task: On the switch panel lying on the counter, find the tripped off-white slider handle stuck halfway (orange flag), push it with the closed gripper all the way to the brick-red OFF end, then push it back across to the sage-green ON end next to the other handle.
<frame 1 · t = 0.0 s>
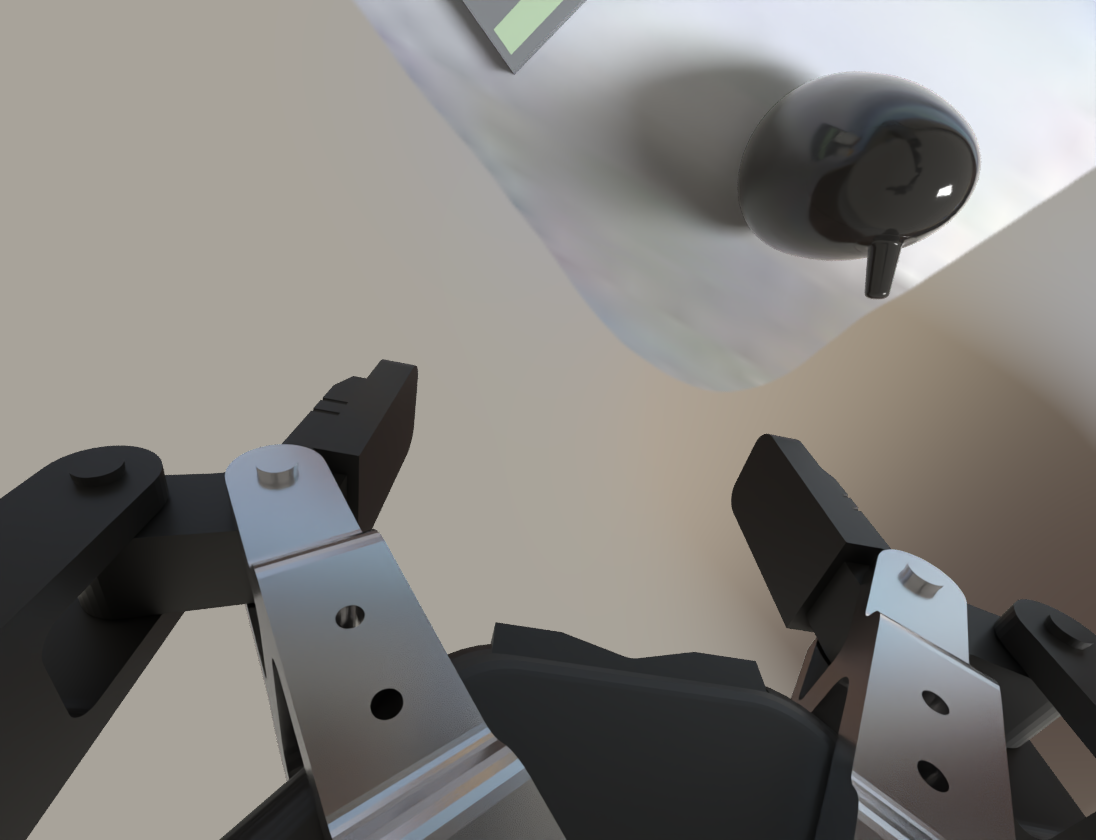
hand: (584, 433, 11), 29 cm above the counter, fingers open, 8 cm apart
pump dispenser: (794, 168, 35), on the counter
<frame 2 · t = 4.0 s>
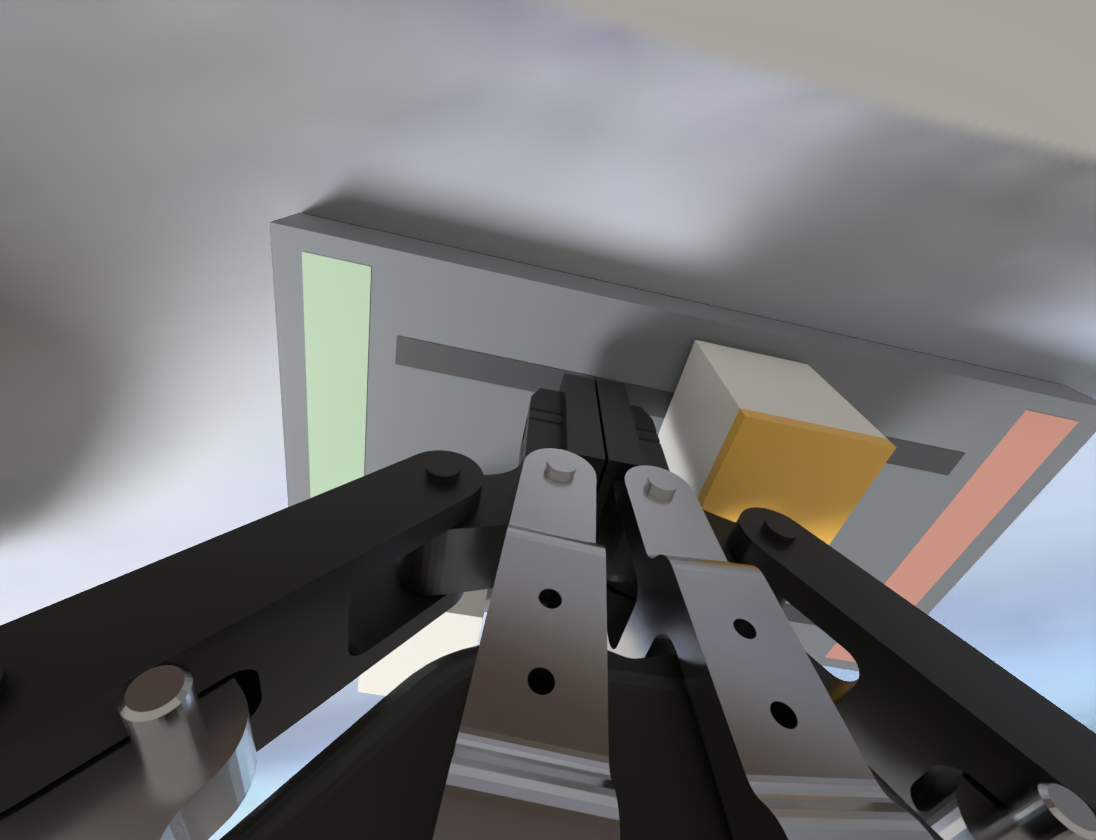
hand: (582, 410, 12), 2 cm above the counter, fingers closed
on breaker: (431, 603, 15), point 3 cm above the counter, slide at 12.0 cm
tripped breaker: (744, 459, 12), point 4 cm above the counter, slide at 5.2 cm, touching gripper
switch panel: (643, 477, 16), on the counter
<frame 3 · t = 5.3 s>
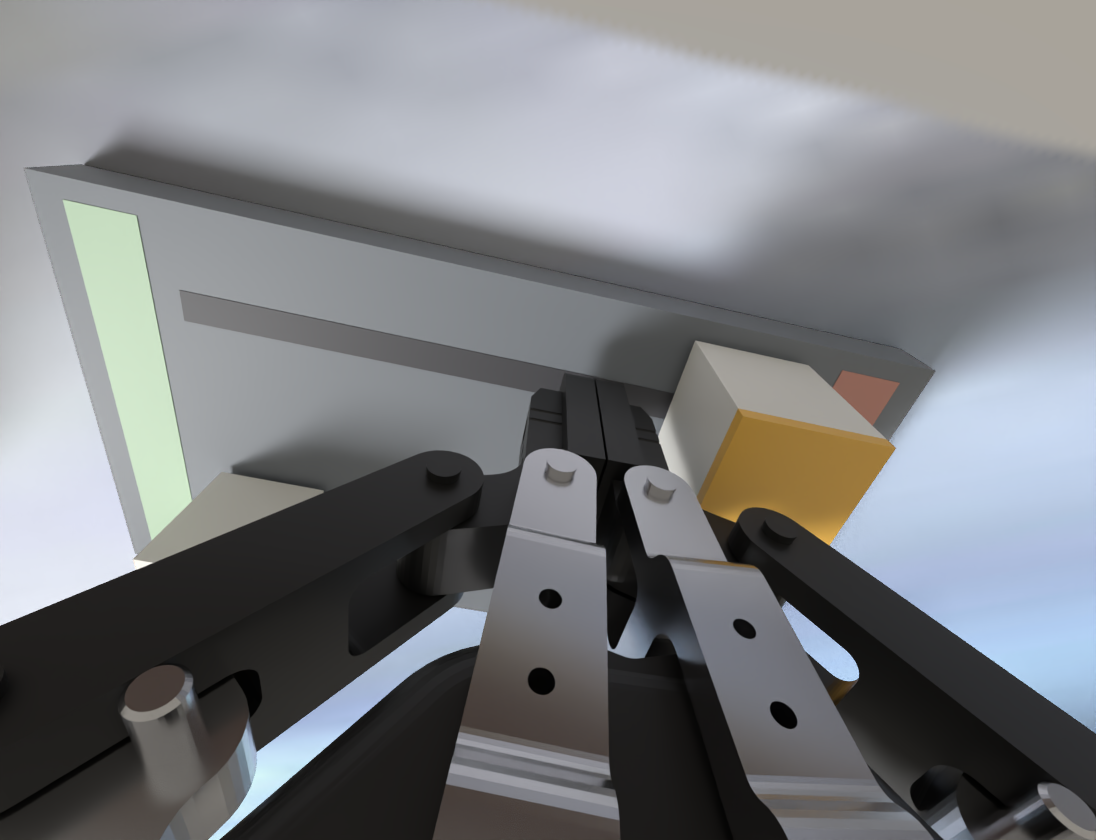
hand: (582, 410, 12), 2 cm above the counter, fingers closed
on breaker: (246, 571, 14), point 3 cm above the counter, slide at 12.0 cm
tripped breaker: (743, 460, 12), point 4 cm above the counter, slide at -0.2 cm, touching gripper
switch panel: (485, 447, 16), on the counter
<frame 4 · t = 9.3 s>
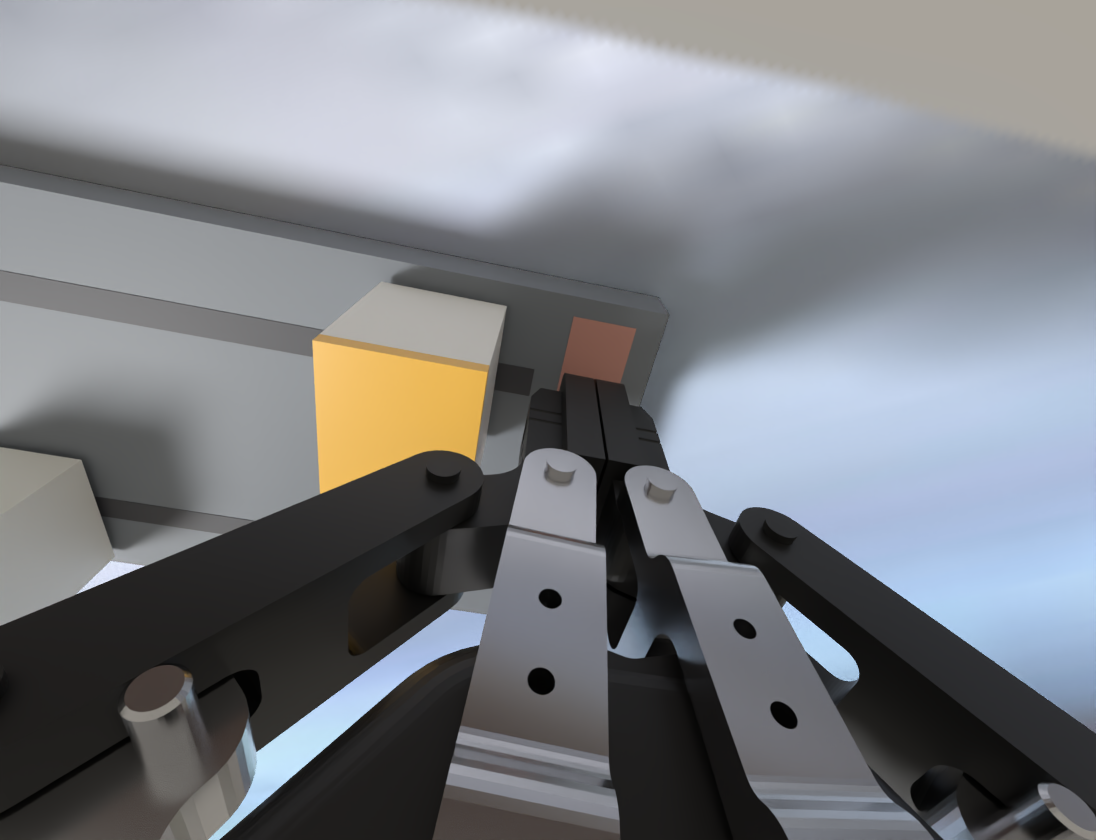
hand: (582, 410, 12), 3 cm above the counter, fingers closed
tripped breaker: (420, 404, 11), point 4 cm above the counter, slide at 0.5 cm, touching gripper
switch panel: (264, 414, 16), on the counter
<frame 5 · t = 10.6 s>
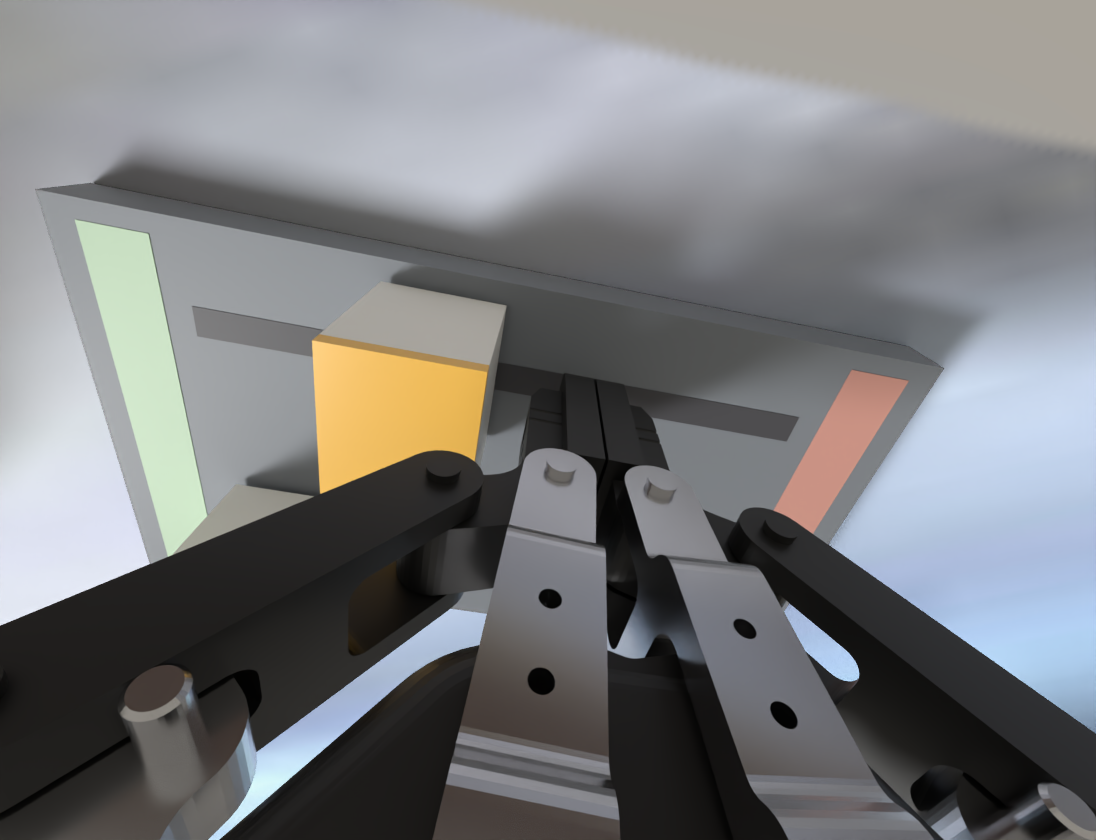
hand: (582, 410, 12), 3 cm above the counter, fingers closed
on breaker: (264, 582, 14), point 3 cm above the counter, slide at 12.0 cm
tripped breaker: (420, 403, 11), point 4 cm above the counter, slide at 7.9 cm, touching gripper
switch panel: (496, 453, 16), on the counter
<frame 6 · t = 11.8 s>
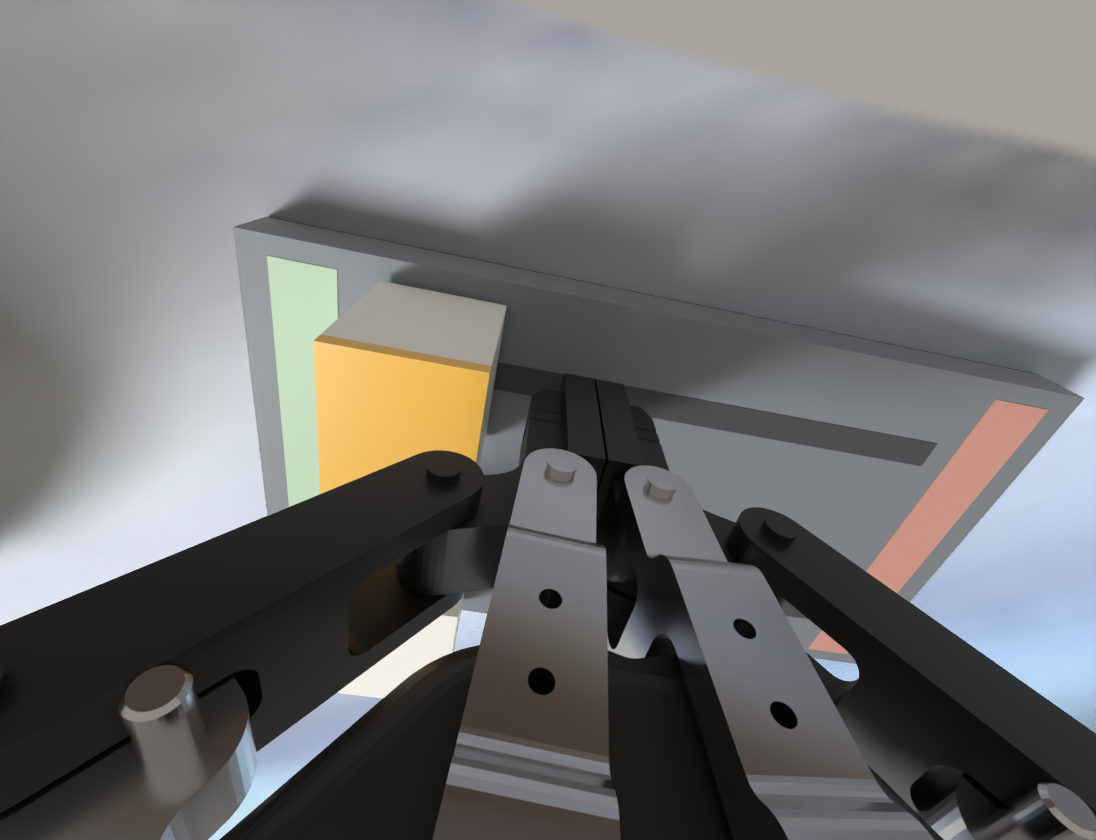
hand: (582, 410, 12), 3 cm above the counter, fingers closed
on breaker: (410, 603, 15), point 3 cm above the counter, slide at 12.0 cm
tripped breaker: (420, 404, 11), point 4 cm above the counter, slide at 12.1 cm, touching gripper
switch panel: (621, 474, 17), on the counter
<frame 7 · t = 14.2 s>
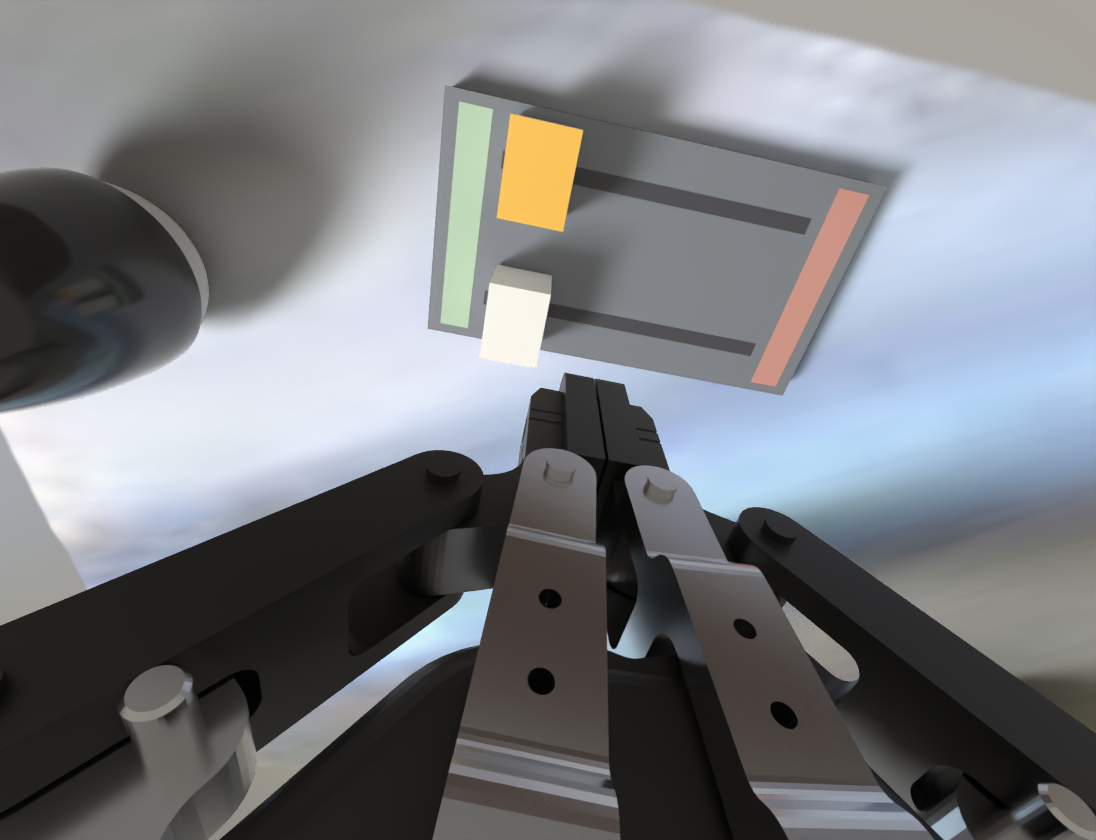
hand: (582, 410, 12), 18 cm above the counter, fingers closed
on breaker: (516, 315, 26), point 3 cm above the counter, slide at 12.0 cm
tripped breaker: (539, 172, 23), point 4 cm above the counter, slide at 12.0 cm
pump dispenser: (149, 258, 29), on the counter
switch panel: (635, 257, 28), on the counter
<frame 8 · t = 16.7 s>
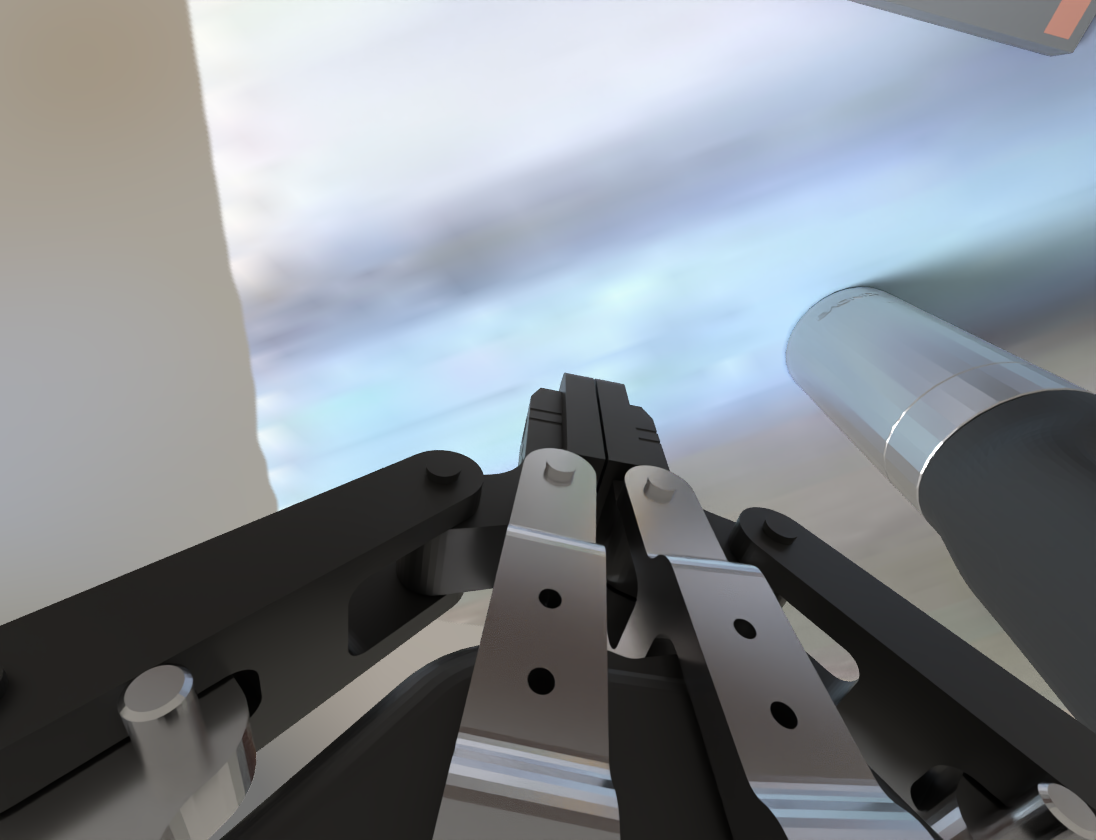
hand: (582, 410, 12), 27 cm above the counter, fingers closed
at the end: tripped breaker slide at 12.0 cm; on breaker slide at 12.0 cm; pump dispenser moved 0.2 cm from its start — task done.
